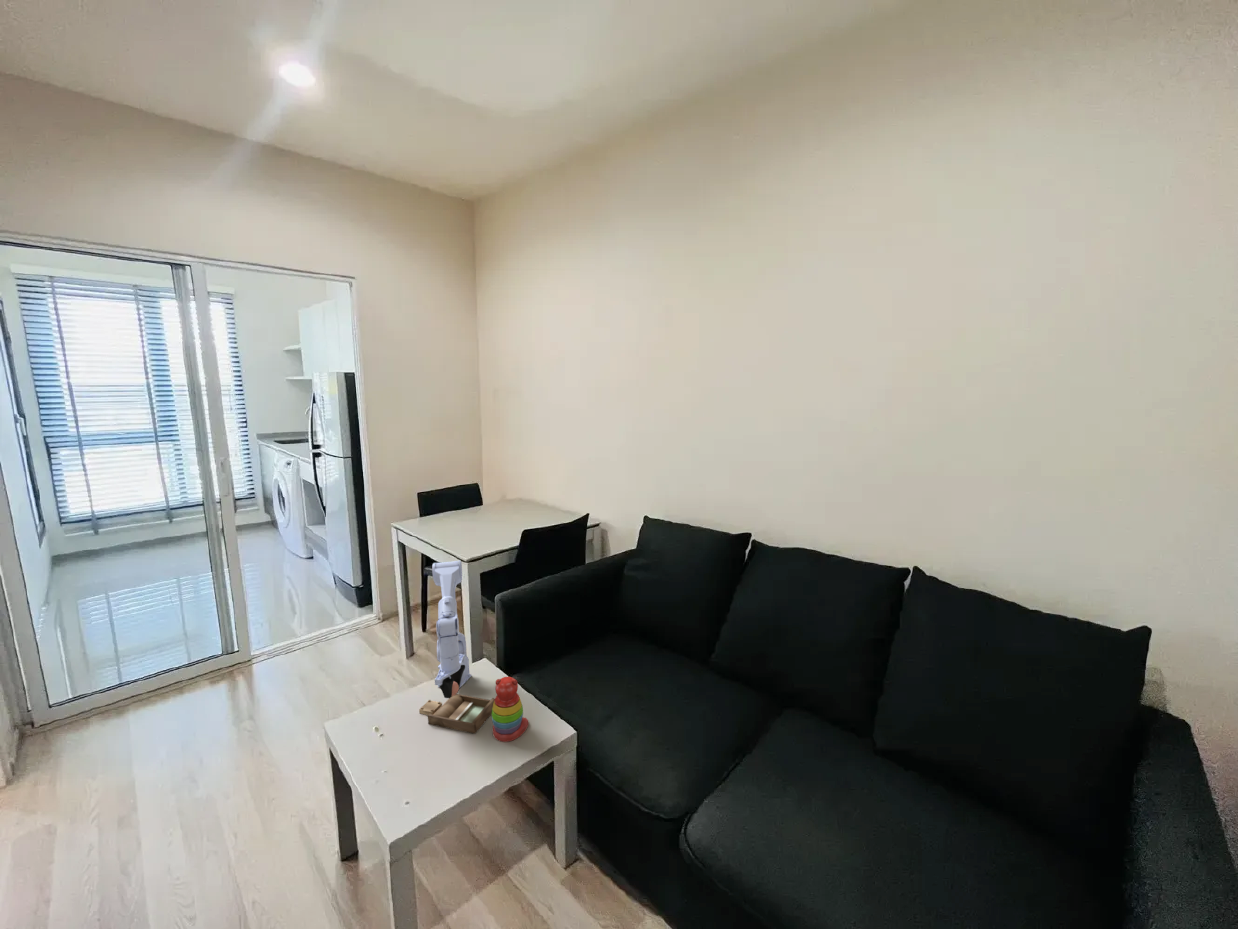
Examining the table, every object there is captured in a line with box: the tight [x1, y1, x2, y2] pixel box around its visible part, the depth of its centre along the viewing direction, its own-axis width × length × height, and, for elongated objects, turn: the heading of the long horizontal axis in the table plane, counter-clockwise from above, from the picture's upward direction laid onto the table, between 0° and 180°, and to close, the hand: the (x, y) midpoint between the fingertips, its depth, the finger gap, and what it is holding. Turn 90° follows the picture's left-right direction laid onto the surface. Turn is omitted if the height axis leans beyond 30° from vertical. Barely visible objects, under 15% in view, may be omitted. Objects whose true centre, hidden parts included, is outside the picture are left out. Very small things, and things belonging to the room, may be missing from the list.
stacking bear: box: [491, 676, 530, 743], centre depth 151 cm, size 11×10×18 cm
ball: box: [452, 681, 460, 696], centre depth 158 cm, size 4×4×4 cm
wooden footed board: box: [419, 699, 443, 716], centre depth 162 cm, size 5×5×2 cm
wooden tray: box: [427, 693, 495, 735], centre depth 159 cm, size 12×17×7 cm
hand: (452, 692), depth 158 cm, fingers closed on ball, 4 cm apart
